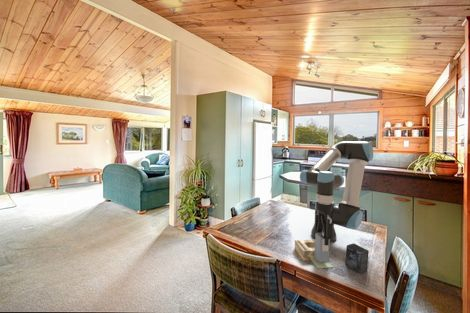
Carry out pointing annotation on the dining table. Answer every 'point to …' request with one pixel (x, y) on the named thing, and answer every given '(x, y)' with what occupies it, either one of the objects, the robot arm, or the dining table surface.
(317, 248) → the plug
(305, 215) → the dining table surface
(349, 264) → the box
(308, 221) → the dining table surface
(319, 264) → the felt pad
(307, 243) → the socket block
